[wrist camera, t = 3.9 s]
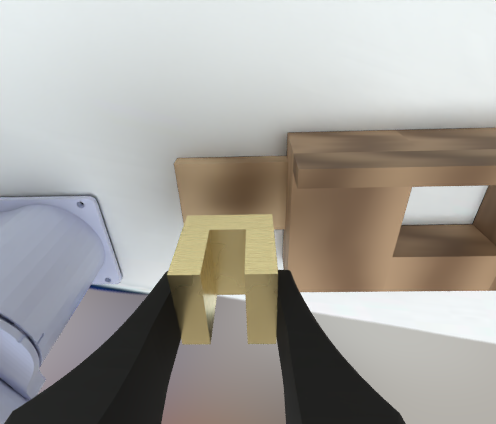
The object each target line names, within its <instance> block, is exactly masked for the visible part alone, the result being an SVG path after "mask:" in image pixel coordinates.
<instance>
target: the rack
mask: <svg viewBox="0 0 496 424" xmlns="http://www.w3.org/2000/svg"><path fill="white" fill-rule="evenodd" d="M174 168H175V174H176V180H177V186H178V192H179V198H180V204H181V210H182V216H183V222H184V223H185V220H186V218H187V216H194V215H249V214H272V217H273V227H274V229H284V235H283V267H284V270H290V271H291V273H292V276H293V278H294V281H295V283H296V285H297V288H298V290H299V292H378V291H496V128H463V129H421V130H378V131H335V132H292V133H287V156H255V157H208V158H177V160H176V161H175V163H174ZM479 185H489V187H488V189H487V192H486V194H485V196H484V199H483V201H482V203H481V206H480V208H479V210H478V213H477V215H476V217H475V220H474V222H473V224H465V225H401V224H402V221H403V217H404V214H405V210H406V207H407V203H408V199H409V196H410V192H411V189H412V187H423V186H479Z"/></svg>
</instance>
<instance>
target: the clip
mask: <svg viewBox="0 0 496 424" xmlns="http://www.w3.org/2000/svg"><path fill="white" fill-rule="evenodd" d="M167 278H168V282H169V286H170V291H171V293H172V298H173V302H174V307H175V311H176V315H177V320H178V324H179V329H180V333H181V339H182V343H183V344H211V337H212V328H213V321H214V314H215V306H216V299H217V295H239V294H246V313H247V334H248V344H276V331H277V296H278V267H277V257H276V247H275V237H274V227H273V217H272V214H249V215H194V216H187V218H186V220H185V223H184V226H183V229H182V232H181V235H180V238H179V241H178V244H177V247H176V250H175V253H174V256H173V259H172V262H171V265H170V268H169V271H168V274H167Z"/></svg>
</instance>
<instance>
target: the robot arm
mask: <svg viewBox="0 0 496 424" xmlns="http://www.w3.org/2000/svg"><path fill="white" fill-rule="evenodd" d="M80 202H82V203H84V205H82V204H80ZM167 274H168V271H167V272H166V273H165V274H164V275H163V277H162V278H161V279H160V281H159V282H158V283H157V285H156V286H155V287H154V288H153V290H152V291H151V292H150V294H149V295H148V296H147V297H146V299H145V300H144V301H143V302H142V303H141V305H140V306H139V307H138V308H137V309H136V310H135V312H134V313H133V314H132V315H131V316H130V317H129V318H128V319H127V321H126V322H125V323H124V324H123V325H122V326H121V327H120V328H119V329H118V330H117V331H116V332H115V333H114V334H113V335H112V336H111V337H110V338H109V339H108V340H107V341H106V342H105V343H104V344H103V345H101V347H99V348H98V349H97V350H96V351H95V352H94V353H93V354H91V355H90V356H89V357H88V358H87V359H85V360H84V361H83V362H82V363H81V364H80V365H78V366H77V367H76V368H75V369H73V370H72V371H71V372H69V373H68V374H67V375H65V376H64V377H63V378H61V379H60V380H59V381H57V382H56V383H54V384H53V385H52V386H50V387H49V388H47V389H46V390H44V391H43V392H41V393H40V394H39V395H37V394H38V392H39V391H40V389H41V387H42V386H43V384H44V382H45V380H46V378H45V377H44V376H43V375H42V374H41V372H40V370H39V368H40V366H41V365H42V363H43V361H44V360H45V358H46V356H47V355H48V353H49V352H50V350H51V348H52V347H53V345H54V343H55V342H56V340H57V339H58V337H59V335H60V334H61V332H62V331H63V329H64V327H65V325H66V324H67V323H68V321H69V319H70V317H71V316H72V314H73V313H74V311H75V310H76V308H77V306H78V305H79V303H80V301H81V300H82V298H83V297H84V295H85V294H86V292H87V290H88V289H89V287H90V285H91V284H118V283H120V281H121V279H122V276H121V273H120V270H119V267H118V264H117V261H116V258H115V255H114V252H113V249H112V246H111V243H110V240H109V237H108V233H107V230H106V227H105V224H104V221H103V218H102V215H101V212H100V209H99V206H98V203H97V201H96V199H94V198H93V197H91V196H53V197H0V424H161V421H162V414H163V410H164V404H165V398H166V392H167V387H168V383H169V379H170V375H171V372H172V368H173V365H174V361H175V358H176V354H177V350H178V347H179V343H180V340H181V333H180V329H179V324H178V320H177V315H176V311H175V307H174V302H173V298H172V293H171V291H170V286H169V282H168V278H167ZM109 278H110V279H109ZM276 337H277V343H278V350H279V356H280V363H281V369H282V376H283V384H284V397H285V413H286V424H405V422H404V420H403V418H402V416H401V415H400V413H399V412H398V411H397V410H395V409H394V408H393V407H392V406H391V405H390V404H389V403H388V402H387V401H386V400H384V399H383V398H382V397H381V396H380V395H379V394H378V393H377V392H376V391H375V390H374V389H373V388H372V387H371V386H370V385H369V384H368V383H367V382H366V381H365V380H364V379H363V378H362V377H361V376H360V375H359V374H358V373H357V372H356V370H354V368H353V367H352V366H351V365H350V364H349V363H348V362H347V361H346V359H345V358H344V357H343V356H342V355H341V354H340V352H339V351H338V350H337V349H336V348H335V346H334V345H333V344H332V342H331V341H330V340H329V338H328V337H327V336H326V334H325V333H324V331H323V330H322V329H321V327H320V326H319V324H318V323H317V321H316V320H315V318H314V316H313V315H312V313H311V312H310V310H309V308H308V306H307V305H306V303H305V301H304V299H303V297H302V296H301V294H300V292H299V290H298V288H297V285H296V283H295V281H294V278H293V276H292V273H291V271H290V270H278V296H277V331H276Z"/></svg>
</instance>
